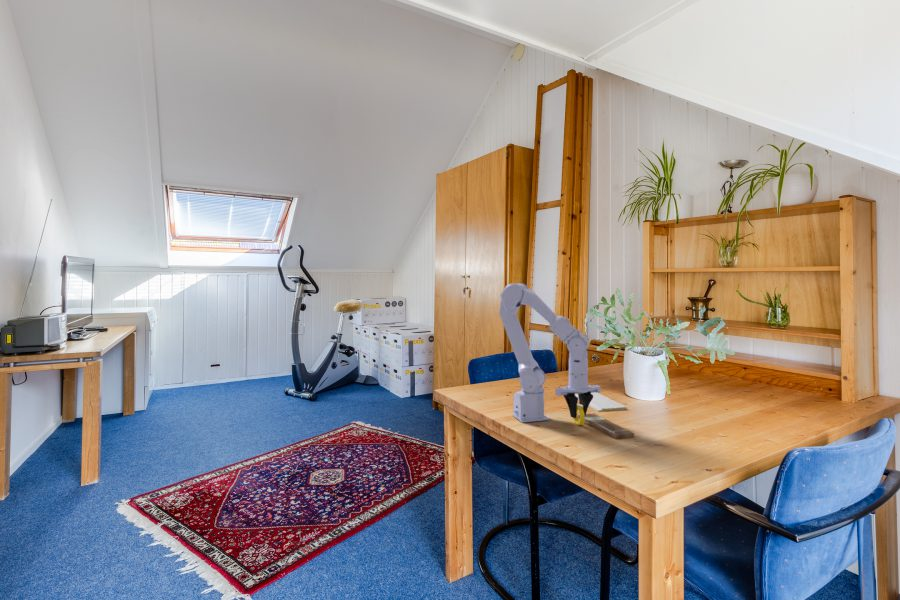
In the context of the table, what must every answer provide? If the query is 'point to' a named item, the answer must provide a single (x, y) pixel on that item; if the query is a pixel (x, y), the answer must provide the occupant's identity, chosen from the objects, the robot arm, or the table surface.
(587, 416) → the board
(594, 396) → the baseboard molding
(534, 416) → the robot arm
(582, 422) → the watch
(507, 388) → the table surface
